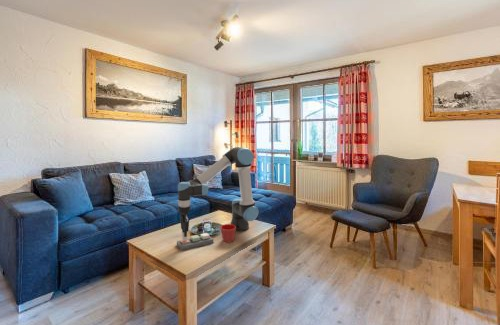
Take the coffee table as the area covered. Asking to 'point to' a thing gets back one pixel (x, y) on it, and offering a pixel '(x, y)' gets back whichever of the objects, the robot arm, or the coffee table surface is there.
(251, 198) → the robot arm
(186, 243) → the key terracotta
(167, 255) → the coffee table surface
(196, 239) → the key sage
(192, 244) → the grey rectangular tray
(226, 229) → the flower pot
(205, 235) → the key ivory
